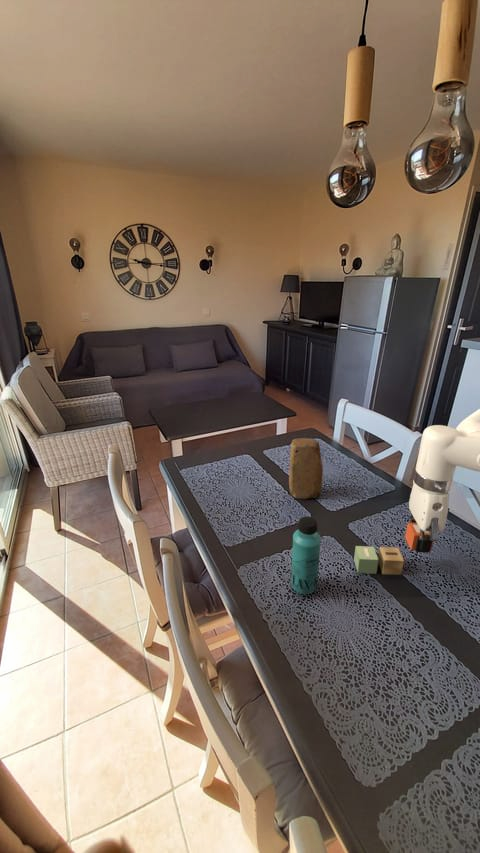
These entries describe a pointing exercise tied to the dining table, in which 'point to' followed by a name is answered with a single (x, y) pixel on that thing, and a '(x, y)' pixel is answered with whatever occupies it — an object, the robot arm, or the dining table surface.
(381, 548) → the tan wooden toy cube
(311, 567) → the beverage bottle
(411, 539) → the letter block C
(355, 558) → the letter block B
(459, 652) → the dining table surface
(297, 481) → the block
